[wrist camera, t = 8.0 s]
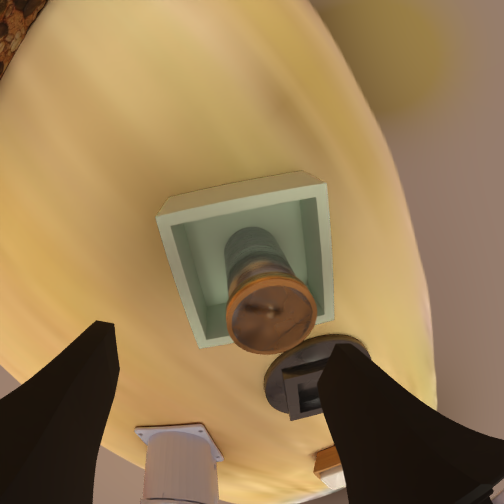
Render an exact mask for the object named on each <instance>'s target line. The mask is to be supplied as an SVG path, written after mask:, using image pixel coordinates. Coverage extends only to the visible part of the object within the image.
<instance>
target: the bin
mask: <svg viewBox="0 0 504 504" xmlns="http://www.w3.org/2000/svg"><path fill="white" fill-rule="evenodd" d="M155 218H156V222H157V225H158V229H159V232H160V236H161V239H162V242H163V246H164V249H165V252H166V255H167V259H168V262H169V265H170V268H171V271H172V274H173V277H174V280H175V283H176V286H177V289H178V292H179V295H180V298H181V301H182V304H183V307H184V309H185V312H186V315H187V318H188V321H189V323H190V326H191V329H192V331H193V334H194V337H195V339H196V342H197V344H198V347H199V349H202V348H208V347H214V346H219V345H225V344H231V343H235V342H234V341H233V340H232V339H231V337H230V335H229V333H228V330H227V322H226V305H227V301H228V299H229V297H228V288H227V278H226V268H225V258H224V249H225V245H226V243H227V241H228V239H229V238H230V237H231V236H232V235H233V234H234V233H235V232H237V231H238V230H240V229H243V228H246V227H259V228H263V229H265V230H267V231H268V232H270V233H271V234H272V235H273V236H274V238H275V239H276V241H277V243H278V244H279V246H280V248H281V250H282V252H283V253H284V255H285V257H286V259H287V261H288V263H289V264H290V266H291V268H292V270H293V272H294V273H295V275H296V277H297V278H299V279H300V280H301V281H302V282H303V283H304V284H305V285H306V286H307V288H308V290H309V291H310V293H311V295H312V297H313V298H314V300H315V303H316V306H317V319H316V322H315V325H317V324H321V323H325V322H329V321H332V320H334V282H333V259H332V241H331V227H330V214H329V202H328V192H327V183H326V182H324V181H322V180H320V179H318V178H316V177H314V176H312V175H310V174H308V173H306V172H304V171H297V172H291V173H285V174H279V175H273V176H267V177H262V178H256V179H251V180H246V181H241V182H235V183H230V184H226V185H221V186H216V187H211V188H207V189H202V190H197V191H193V192H189V193H184V194H180V195H176V196H172V197H168V199H167V200H166V202H165V203H164V205H163V206H162V208H161V209H160V210H159V212H158V213H157V215H156V216H155Z"/></svg>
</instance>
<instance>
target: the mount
mask: <svg viewBox="0 0 504 504" xmlns="http://www.w3.org/2000/svg"><path fill="white" fill-rule="evenodd" d="M336 343H351V344H352V345H354V346H355V347H356V348H357V349H359V350H360V351H361V352H362V353H364V354H365V355H366V356H367V357H368V358H369V359H370V360H371V357H370V355H369V353H368V352H367V350H366V348H365V347H364V345H363V344H362V343H361V342H360V341H358V340H357V339H355V338H353V337H350V336H346V335H339V334H337V335H324V336H319V337H315V338H312V339H308V340H306V341H303V342H301V343H299V344H298V345H296V346H295V347H293V348H291V349H289V350H287V351H285V352H284V353H283V354H281V355H280V356H279V357H278V358H277V359H276V360H275V361H274V362H273V363H272V364H271V366H270V367H269V369H268V371H267V373H266V375H265V379H264V389H265V394H266V398H267V400H268V402H269V403H270V405H271V406H272V407H274V408H275V409H277V410H279V411H281V412H284V413H287V414H289V417H290V421H293V420H297V419H301V418H305V417H309V416H313V415H317V414H320V413H323V410H322V407H321V402H320V398H319V392H318V387H317V382H318V380H319V378H320V376H321V374H322V372H323V370H324V368H325V366H326V364H327V361H328V359H329V357H330V355H331V353H332V351H333V348H334V346H335V344H336Z"/></svg>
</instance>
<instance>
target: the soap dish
mask: <svg viewBox="0 0 504 504" xmlns="http://www.w3.org/2000/svg"><path fill="white" fill-rule="evenodd" d="M313 473H314V474H315V475H316V476H317V477H318V478H319V479H320V480H321V481H322V482H323V483H325V484H326V485H327V486H328V487H329V488H330V489H333V490H335V489H338V488H341V487H344V486H346V483H345V478H344V473H343V469H342V465H341V462H340V458H339V455H338V453H337V450H336V447H335V446H333V447H331V448H328V449H325V450H322V451H320V452H318V453H317V458H316V462H315V467H314V472H313Z"/></svg>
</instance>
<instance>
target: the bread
mask: <svg viewBox="0 0 504 504" xmlns="http://www.w3.org/2000/svg"><path fill="white" fill-rule="evenodd" d="M45 2H46V0H0V79H1V77H2V75H3V73H4V71H5V69H6V67H7V66H8V64H9V62H10V61H11V59H12V57H13V55H14V54H15V52H16V50H17V48H18V46H19V44H20V43H21V42H22V40H23V39H24V37H25V35H26V32H27V30H28V28H29V26H30V24H31V23H32V22H33V21H34V19H35V18H36V15H37V13H38V12H39V11H40V10H41V9H42V8H43V7H44V4H45Z"/></svg>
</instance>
